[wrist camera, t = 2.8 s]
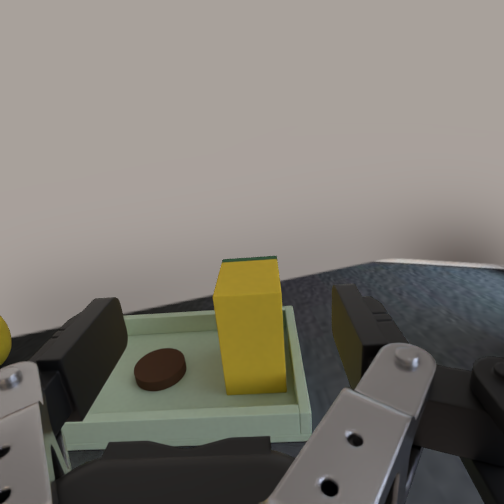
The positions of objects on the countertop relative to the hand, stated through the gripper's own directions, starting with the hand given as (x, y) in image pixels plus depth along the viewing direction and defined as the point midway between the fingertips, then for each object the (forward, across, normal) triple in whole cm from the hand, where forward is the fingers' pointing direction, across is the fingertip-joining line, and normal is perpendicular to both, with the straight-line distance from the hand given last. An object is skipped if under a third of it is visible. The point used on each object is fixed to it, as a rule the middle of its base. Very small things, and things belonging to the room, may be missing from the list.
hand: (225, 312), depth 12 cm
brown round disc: (+12, +8, +13) cm, 20 cm away
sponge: (+12, 0, +13) cm, 18 cm away
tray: (+12, +7, +14) cm, 20 cm away
